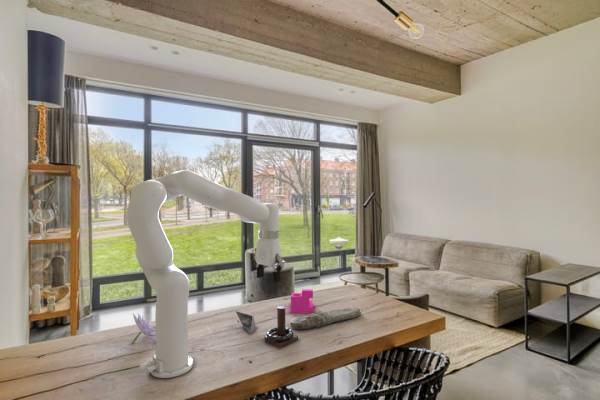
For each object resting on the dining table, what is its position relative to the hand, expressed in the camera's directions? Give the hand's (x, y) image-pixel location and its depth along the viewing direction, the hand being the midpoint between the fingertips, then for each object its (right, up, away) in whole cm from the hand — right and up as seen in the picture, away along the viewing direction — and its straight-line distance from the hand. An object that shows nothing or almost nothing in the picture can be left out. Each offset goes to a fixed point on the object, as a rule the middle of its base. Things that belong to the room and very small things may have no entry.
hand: (268, 279), depth 123 cm
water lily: (-46, -23, -2) cm, 51 cm away
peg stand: (+5, -22, -2) cm, 23 cm away
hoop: (+5, -20, -2) cm, 21 cm away
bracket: (+13, -22, +32) cm, 41 cm away
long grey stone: (+24, -22, +15) cm, 36 cm away
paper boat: (-10, -23, +9) cm, 26 cm away
